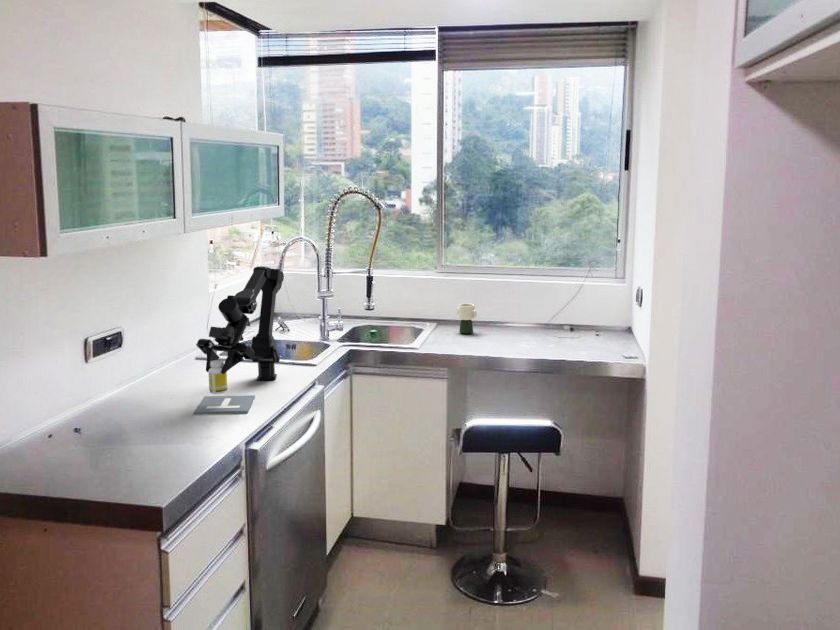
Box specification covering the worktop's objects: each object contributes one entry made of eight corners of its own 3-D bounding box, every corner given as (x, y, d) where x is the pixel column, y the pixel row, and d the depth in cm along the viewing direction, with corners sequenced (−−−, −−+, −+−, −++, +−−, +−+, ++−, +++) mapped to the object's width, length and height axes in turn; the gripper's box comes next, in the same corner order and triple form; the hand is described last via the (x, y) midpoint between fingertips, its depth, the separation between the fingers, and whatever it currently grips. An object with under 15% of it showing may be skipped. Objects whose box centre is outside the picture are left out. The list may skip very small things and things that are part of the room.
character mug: (480, 333, 343) (481, 305, 340) (471, 336, 338) (471, 307, 335) (461, 330, 350) (461, 302, 347) (451, 332, 345) (452, 304, 342)
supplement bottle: (230, 390, 241) (229, 359, 239) (221, 395, 236) (219, 364, 234) (215, 388, 243) (213, 358, 241) (206, 393, 237) (204, 362, 236)
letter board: (204, 398, 248) (204, 396, 248) (254, 397, 249) (254, 394, 249) (194, 414, 232) (193, 411, 232) (247, 413, 233) (247, 410, 233)
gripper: (198, 313, 242) (176, 355, 234) (247, 318, 234) (226, 362, 227) (215, 332, 250) (195, 374, 243) (263, 337, 243) (244, 380, 235)
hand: (214, 372), depth 237 cm, fingers closed on supplement bottle, 5 cm apart
